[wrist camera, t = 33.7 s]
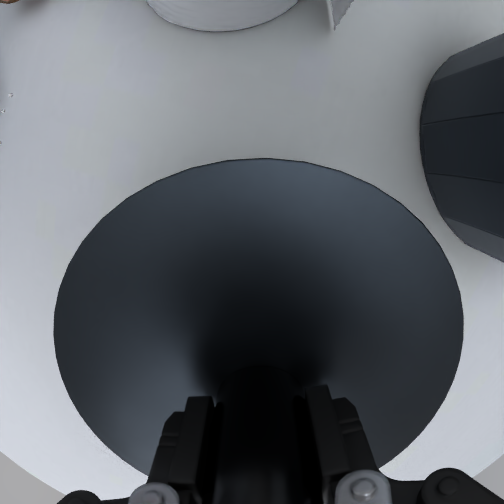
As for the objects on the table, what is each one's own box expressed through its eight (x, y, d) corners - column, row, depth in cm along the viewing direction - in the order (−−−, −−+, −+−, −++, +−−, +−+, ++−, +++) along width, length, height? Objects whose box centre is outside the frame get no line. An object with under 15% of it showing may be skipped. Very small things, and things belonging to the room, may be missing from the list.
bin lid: (136, 484, 14) (107, 583, 7) (24, 202, 10) (-131, 257, 3) (416, 459, 13) (457, 557, 6) (458, 147, 9) (631, 162, 2)
